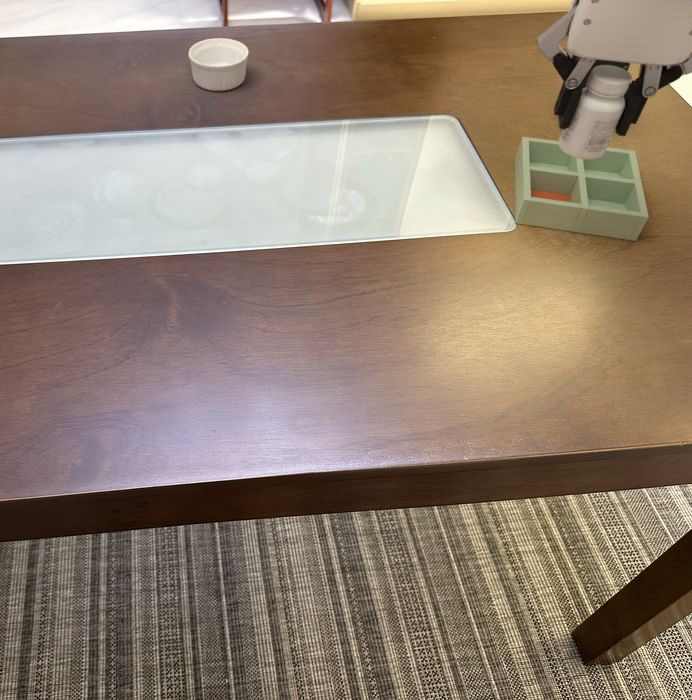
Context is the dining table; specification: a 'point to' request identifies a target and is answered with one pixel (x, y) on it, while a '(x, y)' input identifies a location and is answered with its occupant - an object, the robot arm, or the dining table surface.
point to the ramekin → (218, 63)
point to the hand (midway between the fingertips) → (591, 123)
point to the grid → (579, 190)
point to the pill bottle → (596, 113)
